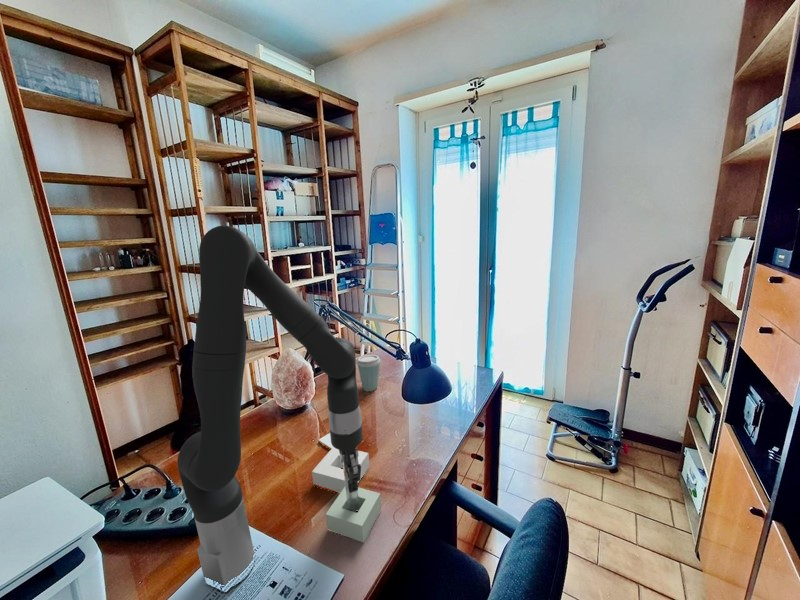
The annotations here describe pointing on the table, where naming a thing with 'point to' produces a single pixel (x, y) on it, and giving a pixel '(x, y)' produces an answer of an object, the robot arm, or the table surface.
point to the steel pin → (351, 496)
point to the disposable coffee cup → (369, 371)
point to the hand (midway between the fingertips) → (351, 485)
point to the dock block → (336, 470)
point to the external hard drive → (326, 440)
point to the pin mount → (354, 514)
